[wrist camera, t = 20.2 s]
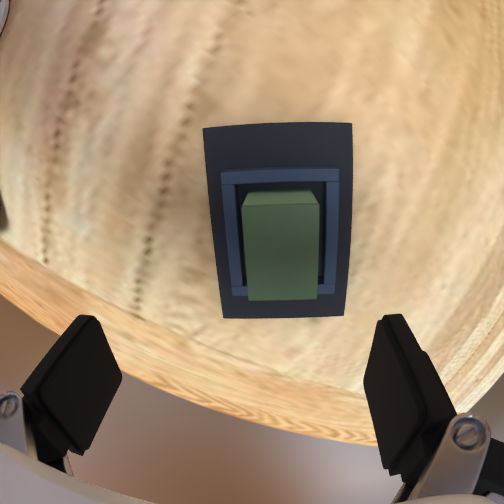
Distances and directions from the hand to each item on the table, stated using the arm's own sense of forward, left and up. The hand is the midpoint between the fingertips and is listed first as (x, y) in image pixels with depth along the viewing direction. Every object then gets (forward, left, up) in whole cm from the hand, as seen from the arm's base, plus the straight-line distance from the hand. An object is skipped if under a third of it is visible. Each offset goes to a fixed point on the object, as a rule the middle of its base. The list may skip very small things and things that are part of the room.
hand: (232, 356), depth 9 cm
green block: (+2, +2, -17) cm, 17 cm away
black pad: (+2, +2, -18) cm, 18 cm away
